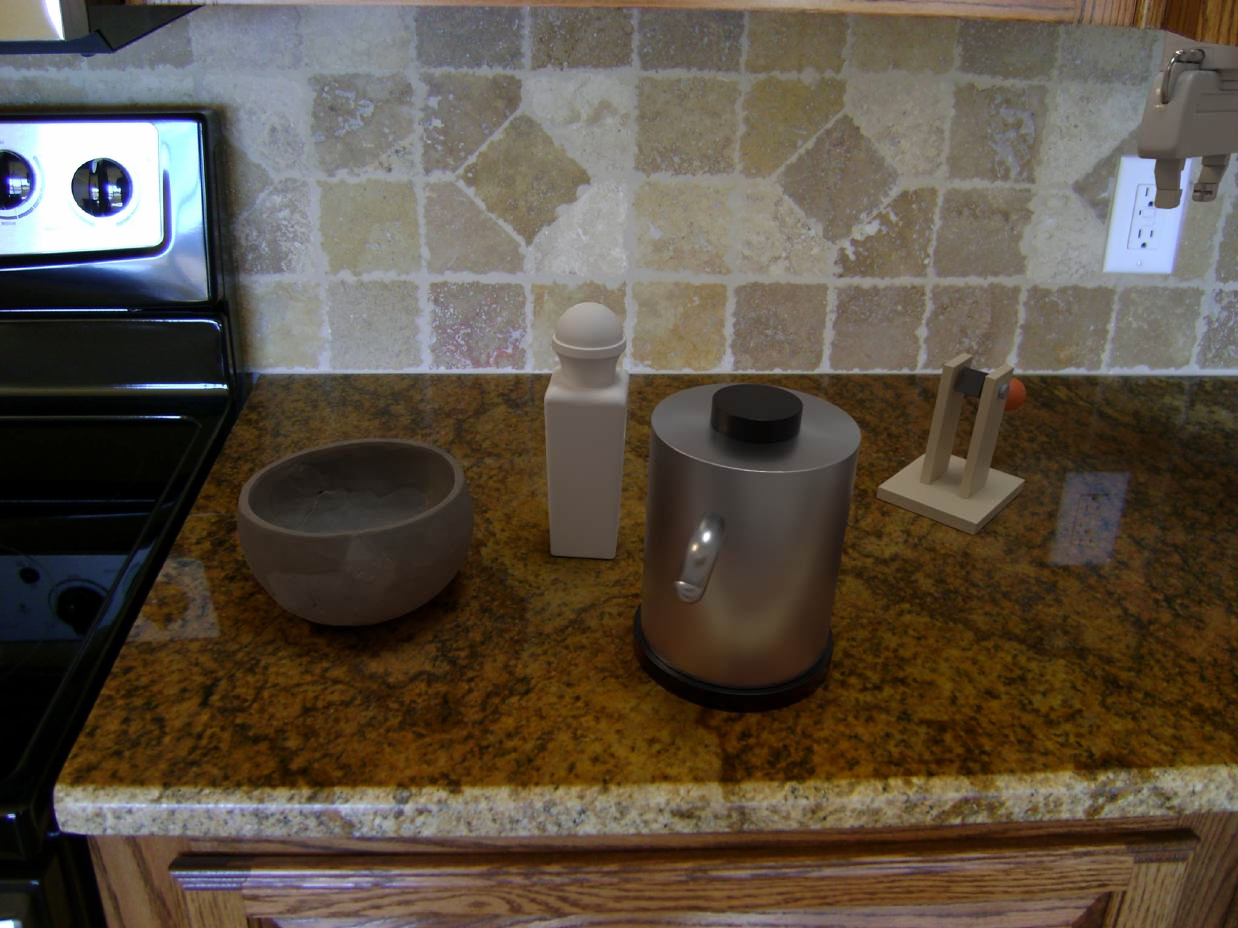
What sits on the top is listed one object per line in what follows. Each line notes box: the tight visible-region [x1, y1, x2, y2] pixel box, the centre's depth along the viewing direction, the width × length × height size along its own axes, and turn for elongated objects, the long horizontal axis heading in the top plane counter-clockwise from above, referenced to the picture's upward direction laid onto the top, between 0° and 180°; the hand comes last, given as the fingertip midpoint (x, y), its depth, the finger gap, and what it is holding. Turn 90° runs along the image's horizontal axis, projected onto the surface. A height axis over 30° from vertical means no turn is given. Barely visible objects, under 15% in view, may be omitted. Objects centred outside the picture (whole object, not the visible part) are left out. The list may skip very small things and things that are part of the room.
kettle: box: [632, 382, 862, 713], centre depth 66 cm, size 22×15×20 cm
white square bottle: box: [543, 301, 631, 560], centre depth 78 cm, size 6×6×22 cm
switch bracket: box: [875, 352, 1026, 536], centre depth 90 cm, size 12×10×14 cm
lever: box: [955, 366, 1027, 413], centre depth 92 cm, size 14×4×4 cm, turn 139°
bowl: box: [236, 437, 475, 627], centre depth 74 cm, size 17×18×10 cm
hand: (1185, 205), depth 92 cm, fingers open, 8 cm apart
